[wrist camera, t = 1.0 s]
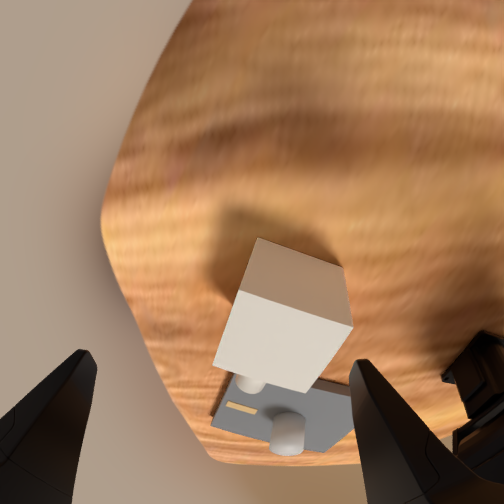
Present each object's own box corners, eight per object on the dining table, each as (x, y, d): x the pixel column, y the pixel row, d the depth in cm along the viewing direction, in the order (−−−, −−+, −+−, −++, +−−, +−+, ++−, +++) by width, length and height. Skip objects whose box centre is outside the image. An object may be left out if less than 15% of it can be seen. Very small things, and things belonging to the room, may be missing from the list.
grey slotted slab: (380, 393, 25) (385, 433, 20) (324, 444, 30) (322, 477, 26) (240, 356, 25) (228, 399, 21) (213, 417, 30) (202, 451, 26)
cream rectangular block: (343, 267, 19) (353, 327, 14) (290, 360, 24) (284, 419, 19) (257, 237, 19) (238, 289, 14) (222, 337, 24) (201, 394, 19)
